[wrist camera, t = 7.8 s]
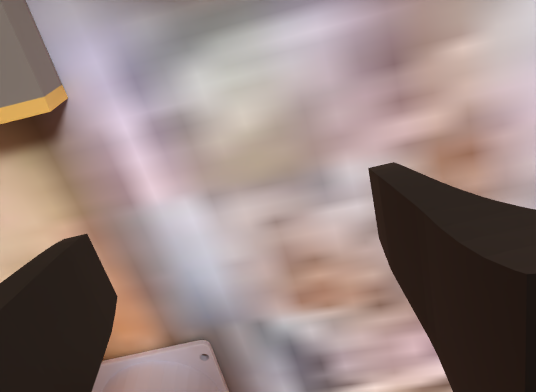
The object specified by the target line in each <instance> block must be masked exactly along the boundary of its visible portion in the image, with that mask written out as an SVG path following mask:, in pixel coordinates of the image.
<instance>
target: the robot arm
mask: <svg viewBox="0 0 536 392" xmlns="http://www.w3.org/2000/svg"><path fill="white" fill-rule="evenodd" d="M368 169H369V176H370V182H371V189H372V195H373V202H374V208H375V215H376V221H377V228H378V234H379V239H380V242H381V245H382V247H383V250H384V253H385V255H386V258H387V260H388V263H389V265H390V268H391V270H392V272H393V274H394V276H395V278H396V280H397V281H398V283H399V285H400V287H401V289H402V290H403V292H404V294H405V296H406V298H407V299H408V301H409V303H410V305H411V307H412V308H413V310H414V312H415V314H416V316H417V317H418V319H419V321H420V323H421V324H422V326H423V328H424V330H425V332H426V333H427V335H428V337H429V339H430V341H431V343H432V345H433V347H434V349H435V351H436V353H437V355H438V357H439V359H440V362H441V364H442V367H443V369H444V371H445V374H446V376H447V378H448V381H449V383H450V385H451V388H452V390H453V392H536V210H535V209H529V208H524V207H520V206H516V205H512V204H507V203H503V202H499V201H495V200H491V199H488V198H484V197H481V196H478V195H475V194H472V193H469V192H466V191H463V190H460V189H458V188H455V187H452V186H450V185H447V184H444V183H442V182H440V181H437V180H435V179H432V178H430V177H428V176H425V175H423V174H421V173H418V172H416V171H414V170H412V169H409V168H407V167H405V166H402V165H400V164H397V163H394V162H393V163H389V164H384V165H380V166H376V167H371V168H368ZM116 303H117V295H116V293H115V291H114V289H113V287H112V284H111V282H110V280H109V278H108V276H107V274H106V272H105V270H104V268H103V266H102V264H101V262H100V260H99V257H98V255H97V253H96V251H95V249H94V247H93V245H92V243H91V241H90V239H89V237H88V235H87V234H84V235H80V236H75V237H71V238H67V239H64V240H62V241H60V242H58V243H56V244H54V245H53V246H51V247H50V248H48V249H47V250H45V251H44V252H42V253H41V254H39V255H38V256H37V257H35V258H34V259H32V260H31V261H30V262H28V263H27V264H26V265H24V266H23V267H22V268H20V269H19V270H18V271H16V272H15V273H14V274H12V275H11V276H10V277H8V278H7V279H5V280H4V281H3V282H1V283H0V392H229V390H228V387H227V385H226V382H225V380H224V377H223V375H222V372H221V370H220V367H219V364H218V362H217V359H216V357H215V354H214V352H213V349H212V347H211V344H210V343H209V342H208V341H206V340H198V341H193V342H188V343H184V344H179V345H174V346H170V347H165V348H160V349H156V350H151V351H146V352H142V353H137V354H132V355H128V356H123V357H118V358H114V359H109V360H104V361H102V360H103V357H104V354H105V351H106V348H107V345H108V341H109V338H110V335H111V332H112V327H113V322H114V316H115V310H116ZM202 354H207V355H206V356H203V355H202Z"/></svg>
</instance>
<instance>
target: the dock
mask: <svg viewBox="0 0 536 392" xmlns="http://www.w3.org/2000/svg"><path fill="white" fill-rule="evenodd" d="M67 98H68V97H67V95H66V92H65V90H64V88H63V86H62V83H61V81H60V79H59V76H58V74H57V72H56V70H55V67H54V65H53V63H52V60H51V58H50V56H49V53H48V51H47V49H46V47H45V44H44V42H43V40H42V37H41V35H40V33H39V31H38V28H37V26H36V24H35V21H34V19H33V17H32V15H31V12H30V10H29V8H28V5H27V3H26V1H25V0H0V124H3V123H7V122H11V121H15V120H19V119H23V118H27V117H31V116H35V115H39V114H43V113H47V112H51V111H52V110H53V109H55V108H56V107H57V106H58V105H60V104H61V103H62V102H63V101H65V100H66V99H67Z"/></svg>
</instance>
